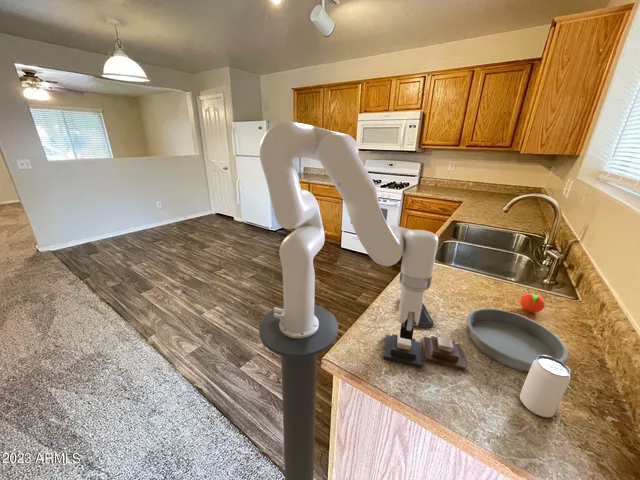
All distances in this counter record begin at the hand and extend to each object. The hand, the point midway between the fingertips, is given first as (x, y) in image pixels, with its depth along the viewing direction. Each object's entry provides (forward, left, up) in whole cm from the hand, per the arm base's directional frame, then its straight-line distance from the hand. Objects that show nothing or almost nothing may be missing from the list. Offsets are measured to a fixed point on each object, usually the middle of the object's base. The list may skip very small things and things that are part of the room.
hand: (405, 336), depth 73 cm
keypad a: (0, 0, -6) cm, 6 cm away
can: (+30, -7, -6) cm, 31 cm away
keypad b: (+11, +3, -6) cm, 12 cm away
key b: (+11, +3, -3) cm, 12 cm away
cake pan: (+31, +14, -6) cm, 34 cm away
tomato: (+44, +36, -6) cm, 57 cm away
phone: (+4, +21, -6) cm, 22 cm away
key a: (0, 0, -3) cm, 3 cm away
